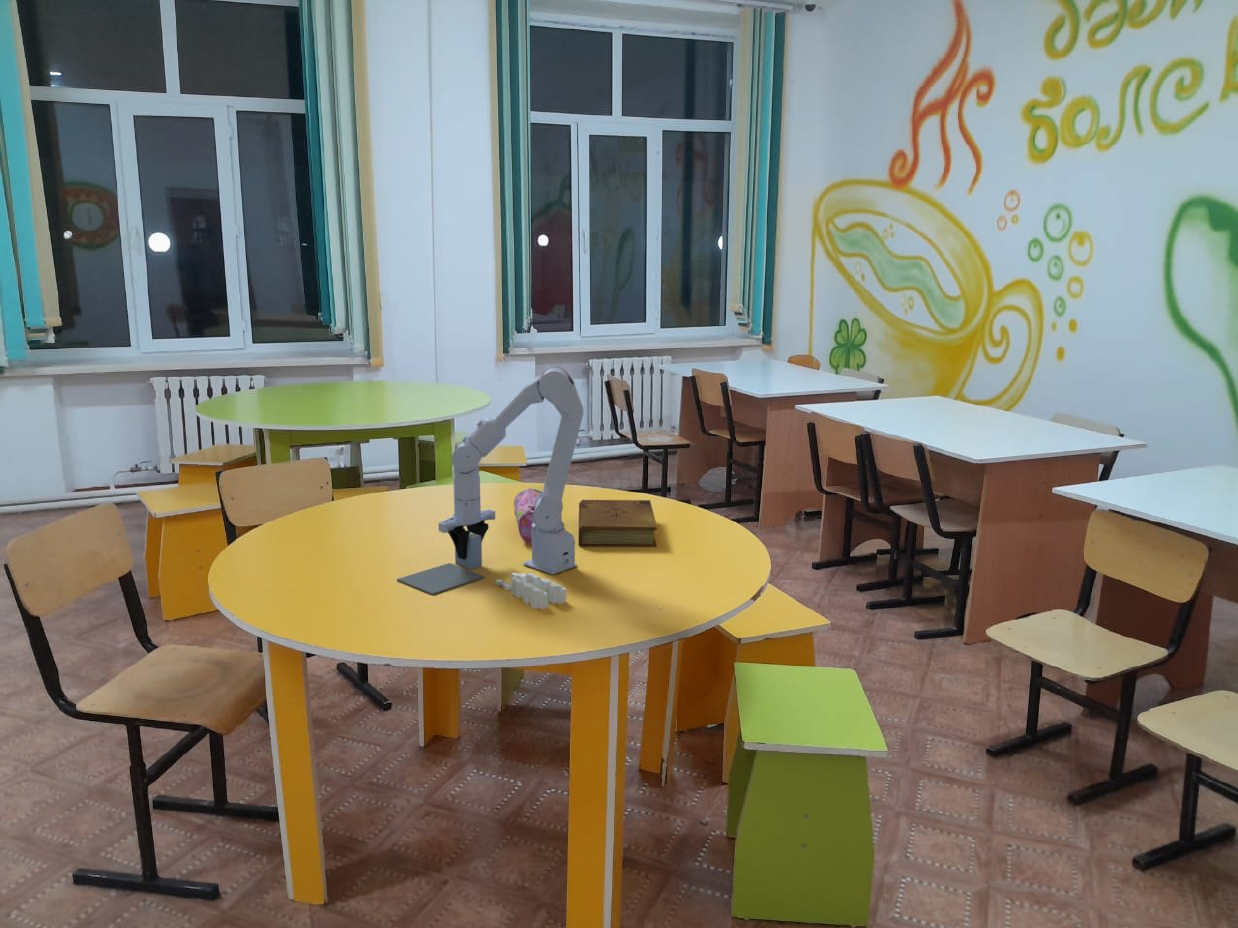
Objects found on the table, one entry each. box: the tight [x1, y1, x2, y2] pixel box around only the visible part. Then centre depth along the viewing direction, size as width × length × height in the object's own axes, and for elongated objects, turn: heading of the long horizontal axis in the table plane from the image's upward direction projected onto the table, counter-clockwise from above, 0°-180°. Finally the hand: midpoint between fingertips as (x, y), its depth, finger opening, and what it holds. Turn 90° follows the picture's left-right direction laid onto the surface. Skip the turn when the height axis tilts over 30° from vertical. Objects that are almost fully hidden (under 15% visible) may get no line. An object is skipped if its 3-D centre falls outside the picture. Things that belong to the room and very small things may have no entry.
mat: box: [396, 562, 486, 596], centre depth 192 cm, size 12×14×1 cm
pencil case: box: [513, 487, 542, 545], centre depth 225 cm, size 21×9×9 cm, turn 8°
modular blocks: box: [495, 572, 567, 610], centre depth 186 cm, size 20×7×4 cm, turn 40°
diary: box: [578, 499, 658, 548], centre depth 226 cm, size 23×19×6 cm
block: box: [454, 532, 483, 570], centre depth 201 cm, size 6×3×7 cm, turn 49°
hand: (468, 556), depth 201 cm, fingers closed on block, 3 cm apart
